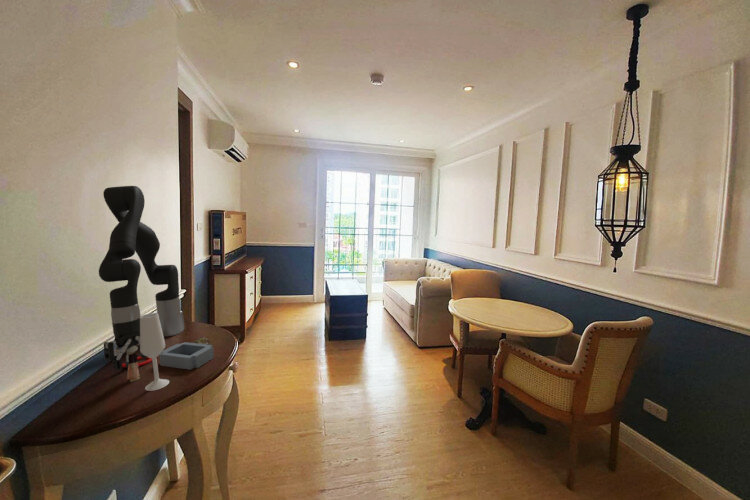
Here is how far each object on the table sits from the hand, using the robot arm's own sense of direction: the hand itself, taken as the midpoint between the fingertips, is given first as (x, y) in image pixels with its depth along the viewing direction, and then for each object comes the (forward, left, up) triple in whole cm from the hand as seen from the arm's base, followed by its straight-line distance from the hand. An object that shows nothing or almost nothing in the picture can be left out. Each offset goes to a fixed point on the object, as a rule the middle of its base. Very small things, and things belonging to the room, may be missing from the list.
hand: (132, 363), depth 104 cm
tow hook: (-10, -11, -6) cm, 16 cm away
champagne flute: (+1, +11, -6) cm, 13 cm away
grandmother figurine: (0, 0, -6) cm, 6 cm away
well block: (-15, +7, -6) cm, 18 cm away
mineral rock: (-26, +1, -6) cm, 27 cm away
